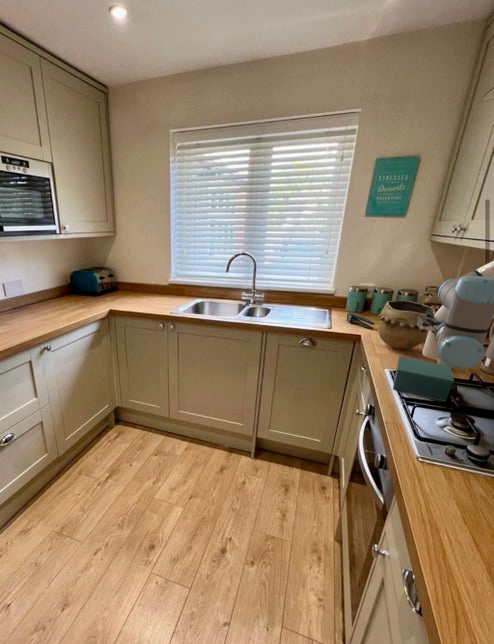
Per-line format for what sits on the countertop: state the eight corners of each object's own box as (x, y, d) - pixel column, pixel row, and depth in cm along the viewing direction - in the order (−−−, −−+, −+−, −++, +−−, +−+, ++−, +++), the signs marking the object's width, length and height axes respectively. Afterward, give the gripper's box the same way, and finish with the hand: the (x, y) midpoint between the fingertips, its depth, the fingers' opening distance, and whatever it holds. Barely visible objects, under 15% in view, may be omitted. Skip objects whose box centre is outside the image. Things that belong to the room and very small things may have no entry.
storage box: (444, 384, 112) (450, 365, 110) (447, 401, 101) (454, 381, 98) (394, 374, 119) (399, 356, 117) (391, 389, 108) (397, 369, 106)
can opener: (342, 321, 189) (344, 311, 187) (352, 320, 191) (354, 311, 189) (367, 330, 173) (369, 319, 171) (377, 329, 175) (379, 318, 173)
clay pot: (439, 354, 140) (453, 308, 133) (397, 357, 135) (410, 310, 128) (399, 339, 159) (410, 298, 152) (361, 341, 154) (370, 299, 147)
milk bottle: (426, 359, 98) (447, 292, 91) (418, 351, 104) (436, 288, 98) (457, 363, 95) (480, 294, 88) (446, 354, 102) (467, 290, 95)
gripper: (402, 343, 88) (403, 325, 106) (503, 360, 78) (486, 336, 96) (409, 316, 86) (409, 302, 104) (515, 330, 75) (495, 311, 93)
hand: (446, 318), depth 100 cm, fingers closed on milk bottle, 8 cm apart
